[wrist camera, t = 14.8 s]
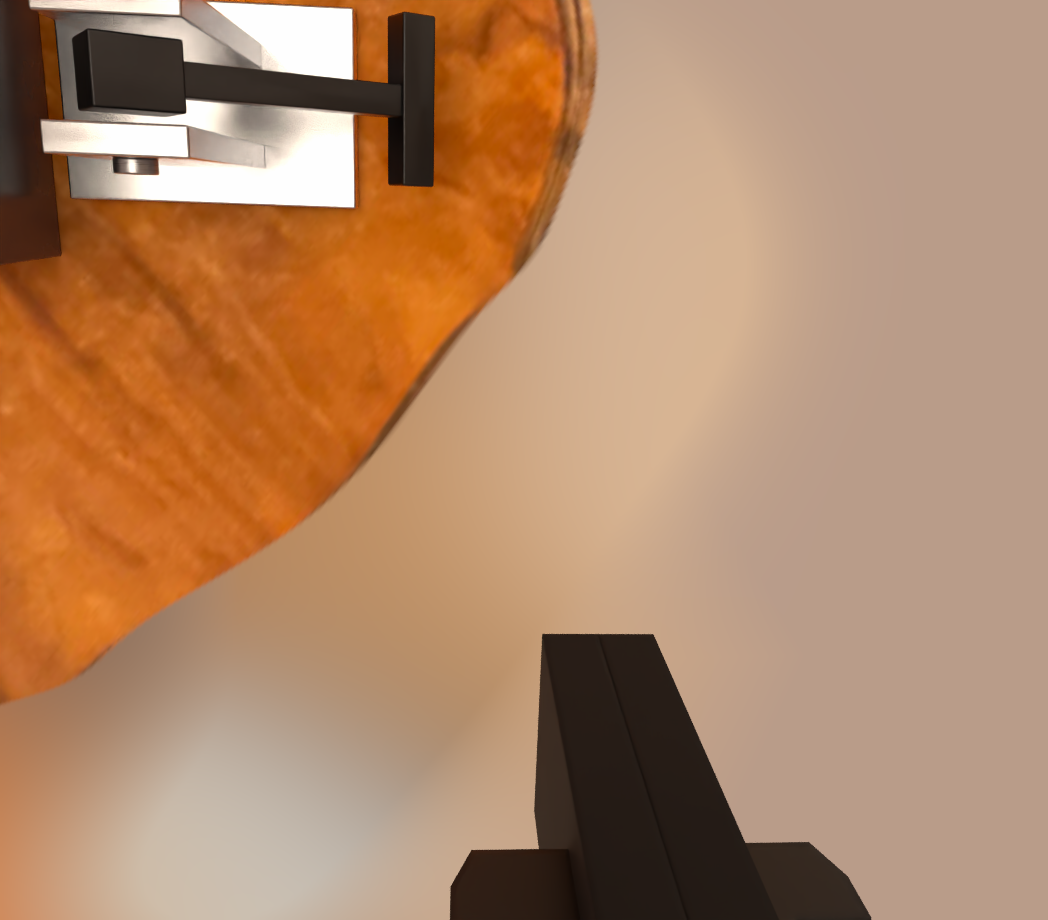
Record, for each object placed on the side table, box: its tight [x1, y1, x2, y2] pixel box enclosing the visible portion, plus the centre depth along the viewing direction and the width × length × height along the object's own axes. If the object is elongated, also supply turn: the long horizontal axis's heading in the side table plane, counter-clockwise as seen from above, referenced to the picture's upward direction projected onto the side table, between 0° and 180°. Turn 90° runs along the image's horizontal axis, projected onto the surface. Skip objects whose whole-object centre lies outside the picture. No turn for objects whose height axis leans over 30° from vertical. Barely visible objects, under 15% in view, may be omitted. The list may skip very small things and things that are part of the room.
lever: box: [72, 12, 435, 187], centre depth 32 cm, size 12×6×2 cm
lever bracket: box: [28, 0, 358, 209], centre depth 34 cm, size 12×8×13 cm, turn 88°
